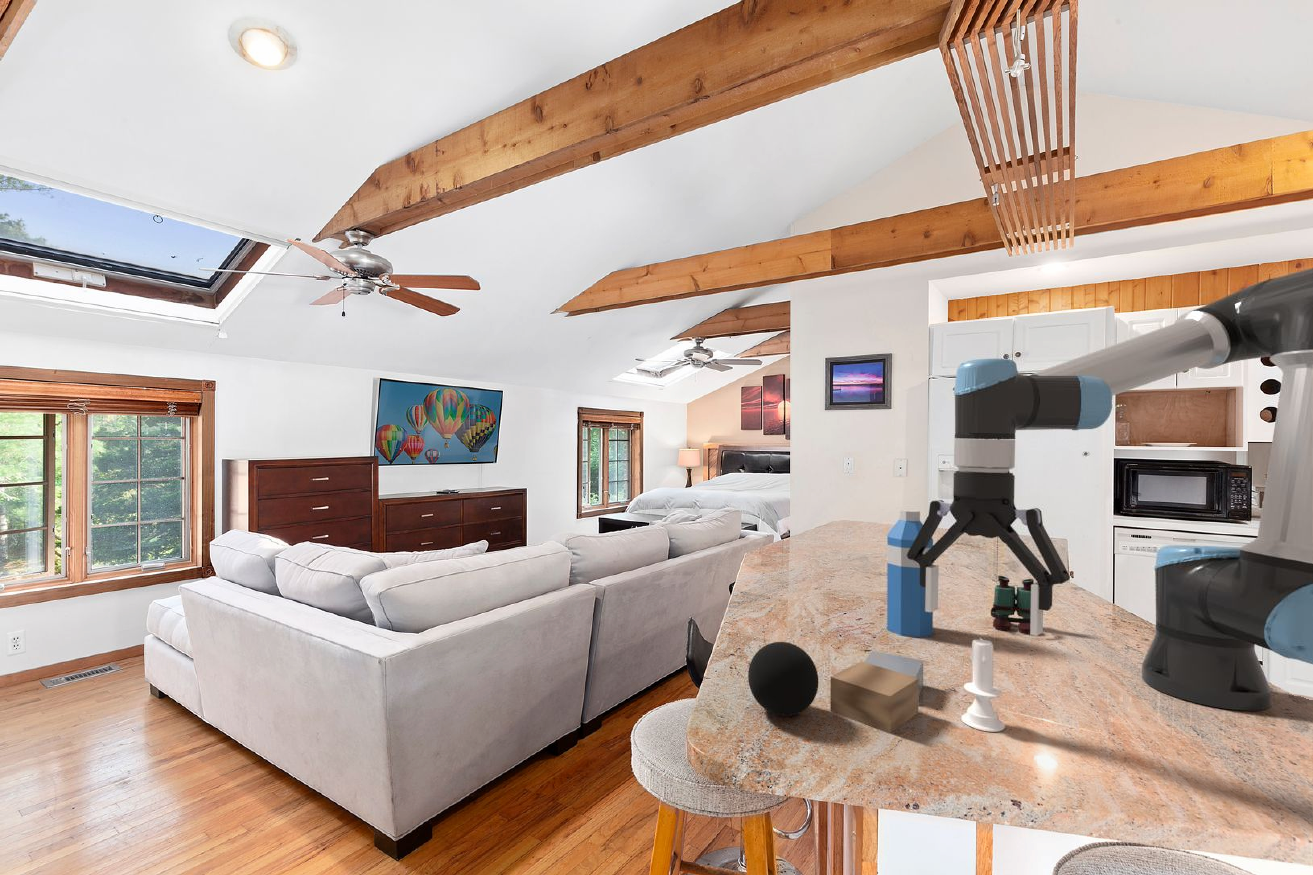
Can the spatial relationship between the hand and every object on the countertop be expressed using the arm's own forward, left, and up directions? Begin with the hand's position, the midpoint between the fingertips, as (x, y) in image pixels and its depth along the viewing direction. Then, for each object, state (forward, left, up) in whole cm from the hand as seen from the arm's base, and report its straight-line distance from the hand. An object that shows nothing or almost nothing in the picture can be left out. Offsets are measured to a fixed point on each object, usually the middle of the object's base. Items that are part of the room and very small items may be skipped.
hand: (980, 621), depth 84 cm
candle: (0, 0, -15) cm, 15 cm away
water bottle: (+25, -33, -15) cm, 44 cm away
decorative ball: (+21, +18, -15) cm, 31 cm away
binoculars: (+10, -50, -15) cm, 53 cm away
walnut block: (+12, +8, -14) cm, 20 cm away
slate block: (+14, -2, -14) cm, 20 cm away
